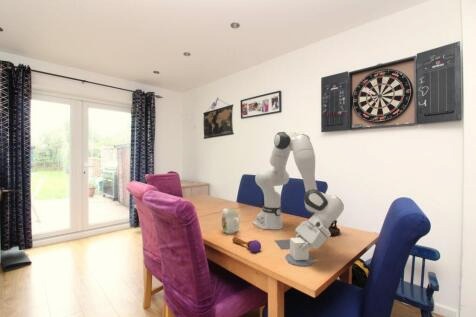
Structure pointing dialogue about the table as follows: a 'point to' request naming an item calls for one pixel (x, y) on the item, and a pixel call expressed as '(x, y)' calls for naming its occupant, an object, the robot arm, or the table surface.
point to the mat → (283, 244)
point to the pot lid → (299, 261)
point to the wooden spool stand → (334, 228)
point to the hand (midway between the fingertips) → (297, 246)
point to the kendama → (249, 244)
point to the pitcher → (230, 221)
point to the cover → (298, 249)
